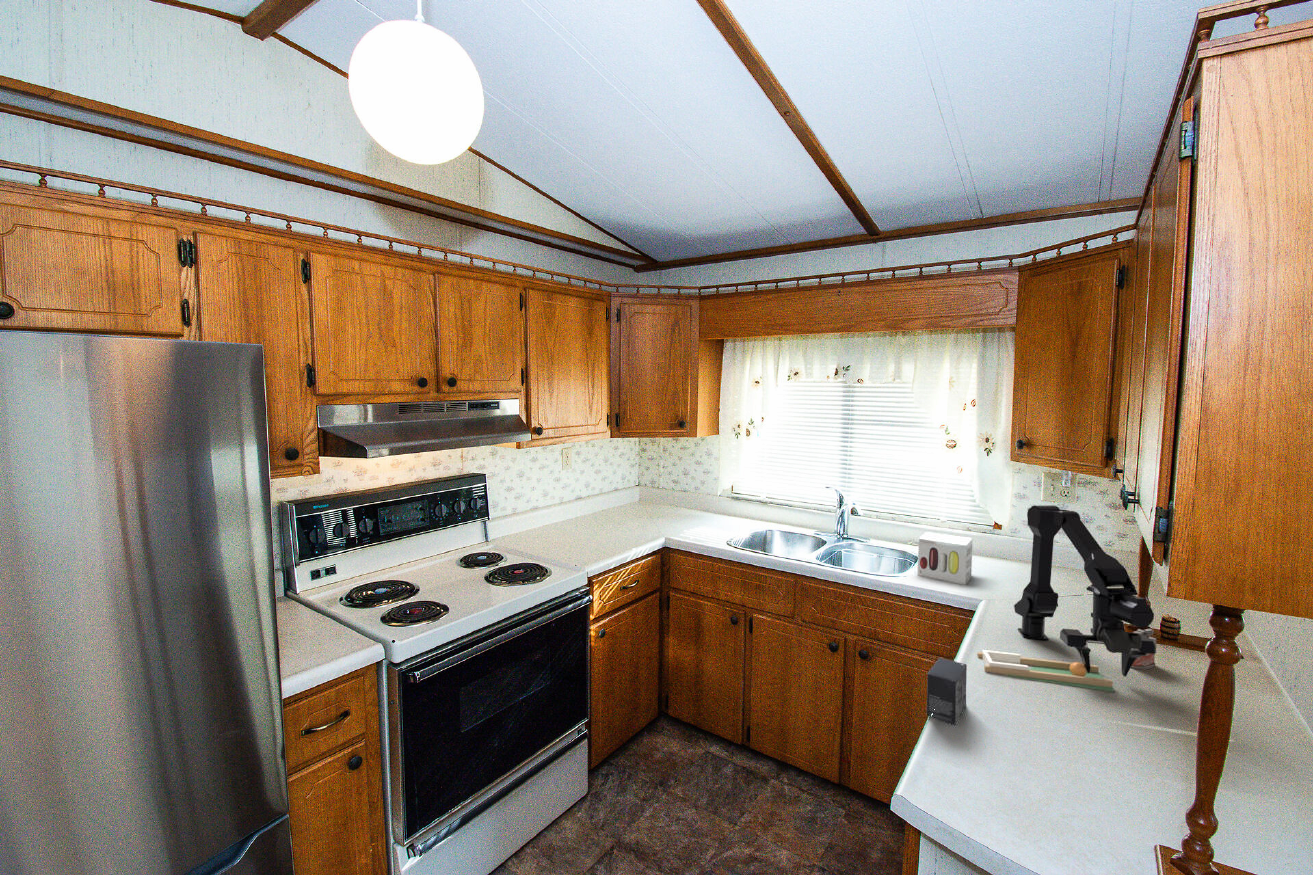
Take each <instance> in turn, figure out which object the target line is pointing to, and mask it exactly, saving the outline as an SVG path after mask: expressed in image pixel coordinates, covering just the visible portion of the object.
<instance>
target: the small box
mask: <svg viewBox="0 0 1313 875" xmlns="http://www.w3.org/2000/svg"><path fill="white" fill-rule="evenodd" d="M967 667H968V664H967V663H963V662H958V661H953V660H950V659H945V658H942V657H938V659H937V660H935V663H934V664H933V665H932V667H931V668H930V669H929V671H928V672H927V676H926V682H927V683H926V716H928V717H930V718H932V719H936V720H938V721H941V722H944V723H947V724H949V723H951V724H950V725H952V724H954V725H953V726H955V725H956V726H957V724H958V723H959V721H960V719H961V717H962V715H963V714H962V712H963V710H964V709H966V708H967V674H968V673H967V671H968V670H967ZM965 707H966V708H965ZM934 709H935V710H934ZM964 711H965V710H964ZM932 713H933V715H932V717H931V714H932ZM963 713H964V712H963ZM961 714H962V715H961ZM960 716H961V717H960ZM959 718H960V719H959ZM958 720H959V721H958ZM957 722H958V723H957ZM956 723H957V724H956Z"/></svg>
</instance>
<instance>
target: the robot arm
mask: <svg viewBox="0 0 1313 875" xmlns="http://www.w3.org/2000/svg"><path fill="white" fill-rule="evenodd" d="M1026 515H1027V516H1026V517H1027V526H1028V527H1029V529H1030V531H1031V532H1032V535H1033V536H1032V538H1033V539H1032V548H1031V549H1032V550H1031V566H1030V580H1029V583H1028V584H1027V585H1026V586H1025V587H1024V589H1023V590H1022V597H1021V599H1020V600H1018V601H1017V602H1016V603H1015V604H1013V609H1014V613H1016V615H1019V616H1021V627H1020V628H1019V627H1018V628H1017V631H1018V632H1019V634H1020V635H1021V636H1022V637H1023V638H1024V639H1034V640H1043V641H1049V640H1050V639H1049V637H1048V636H1047V635H1046V634H1045V628H1046V618H1054V615H1055V612H1056V610H1057V608H1058V607H1059V604H1058V603H1059V602H1058V601H1059V593H1058V592H1056V591H1055V590H1054V589H1053V587H1052V585H1051V580H1052V568H1053V554H1054V542H1055V540H1054V539H1055V537H1056V535H1057V534H1058V532H1059V531H1060V530H1061V529H1062V531H1063V532H1064V533H1065V536H1066V537H1067V538H1068V539H1069V542H1071V544H1072V545H1073V546H1074V548H1075V550H1076V551H1077V552H1078V554H1079V555H1080V557H1081V558H1082V560H1083V562H1084V563H1083V564H1084V565H1083V570H1084V572H1085V574H1086V576H1087V579H1088V580H1089V582H1090V583H1091V585H1089V586H1087V587H1086V588H1085V589H1086V590H1087V591H1088V592H1091V593H1092V612H1090V617H1091V618H1092V627H1091V628H1090V633H1091V634H1083V633H1082V632H1081V631H1080V630H1079V629H1075V628H1074V629H1073V628H1062V629H1061V630H1060V632H1059V639H1060V640H1061V641H1062V642H1063V643H1064V644H1065V645H1066V646H1067V647H1072V648H1074V649H1075V650H1076V651H1077V652H1078V654H1079V657H1080V659H1081V661H1082V664H1084V666H1085V667H1086V670H1087V672H1088V673H1090V665H1091V661H1090V660H1091V658H1090V657H1091V656H1090V654H1091V651H1092V649H1091V648H1090V647H1088V644H1099V645H1104V647H1105V649H1106V650H1107V651H1108V652H1109V653H1113V654H1117V653H1119V654H1121V662H1120V664H1121V667H1120V668H1121V674H1122V676H1123V677H1127V676H1128V674H1129V672H1130V669H1132V668H1131V666H1132V664H1133V663H1134V661H1135V660H1136V659H1137V658H1138V657H1140V656H1145V655H1146V653H1151V654H1155V655H1156V654H1157V645H1156V643H1154V642H1153V641H1152V640H1150V639H1149V638H1147V637H1146V636H1145V635H1140V634H1139V633H1133V632H1130V631H1126V629H1125V623H1127V624H1129V625H1133V626H1134V627H1137V628H1139V629H1141V628H1143V629H1144V628H1146V627H1148V626H1150V625H1151V624H1152V623H1153V621H1154V618H1155V613H1154V611H1153V609H1152V607H1151V606H1150V605H1149V604H1147V603H1146V598H1144V597H1140V596H1138V595H1139V594H1138V591H1137V589H1136V588H1137V587H1136V586H1135V585H1134V583H1133V581H1132V579H1131V577H1130V575H1129V572H1128V570H1127V569H1126V568H1125V567H1124V565H1122V564H1121V563H1120V562H1119V560H1118V559H1117V558H1115V557H1114V556H1112V555H1110V554H1108V553H1106V552H1105V550H1103V548H1102V547H1101V545H1100V544H1099V543H1098V541H1097V540H1096V539H1095V538H1094V535H1092V534H1091V532H1090V531H1089V530H1088V528H1087V526H1086V525H1085V523H1083V521H1082V520H1081V515H1080V514H1079V513H1078V512H1077V511H1075V510H1069V509H1061V508H1059V506H1057V505H1054V504H1053V505H1049V504H1048V505H1045V504H1044V505H1032V506H1031V507H1030V508H1028V509H1027V514H1026ZM1124 622H1125V623H1124Z"/></svg>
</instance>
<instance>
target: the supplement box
mask: <svg viewBox="0 0 1313 875" xmlns="http://www.w3.org/2000/svg"><path fill="white" fill-rule="evenodd" d="M973 540H974V539H973V537H968V536H958V535H953V534H952V535H951V534H943V533H936V532H929V531H926V532H925V533H923V534H921V536H920V537H919V538H918V549H917V550H918V554H917V576H919V577H925V578H929V579H934V580H938V581H943V582H944V581H945V582H949V583H953V584H954V583H955V584H959V585H964V586H965V585H967V583H968V582H969V581H970V580H971V578H972V567H973V565H972V564H973V543H974V542H973Z"/></svg>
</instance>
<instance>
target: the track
mask: <svg viewBox="0 0 1313 875" xmlns="http://www.w3.org/2000/svg"><path fill="white" fill-rule="evenodd" d="M976 654H977V658H978V659H982V652H979V651H977V653H976ZM1072 663H1073V662H1068V661H1059V660H1053V659H1051V660H1050V659H1044V658H1043V659H1041V658H1034V657H1033V658H1032V657H1024V656H1020V665H1030V666H1033V667H1029V671H1026V670H1017V669H1009V668H1000V667H992V666H989V665H985V664H984V668H983V669H984V672H986V673H992V674H999V675H1004V676H1005V677H1006V678H1007V677H1008V678H1014V679H1015V678H1016V679H1023V680H1029V681H1036V682H1043V683H1051V684H1057V685H1064V686H1070V687H1071V686H1072V687H1078V688H1084V689H1091V690H1092V689H1093V690H1097V691H1098V690H1099V691H1104V692H1105V691H1106V692H1115V689H1114V687H1113V683H1114V681H1113V680H1112V679H1110V678H1109V679H1108V678H1104V677H1103V675H1101V674H1100V673H1099V670H1100V669H1099V668H1100V667H1099V666H1098V665H1096V664H1095V665H1094V664H1090V673H1088V672H1087V673H1086V675H1085V676H1075V675H1073V674H1072V673H1071V672H1070V669H1069V667H1070V665H1071V664H1072ZM1082 664H1083V663H1082ZM1083 665H1084V664H1083Z"/></svg>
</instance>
